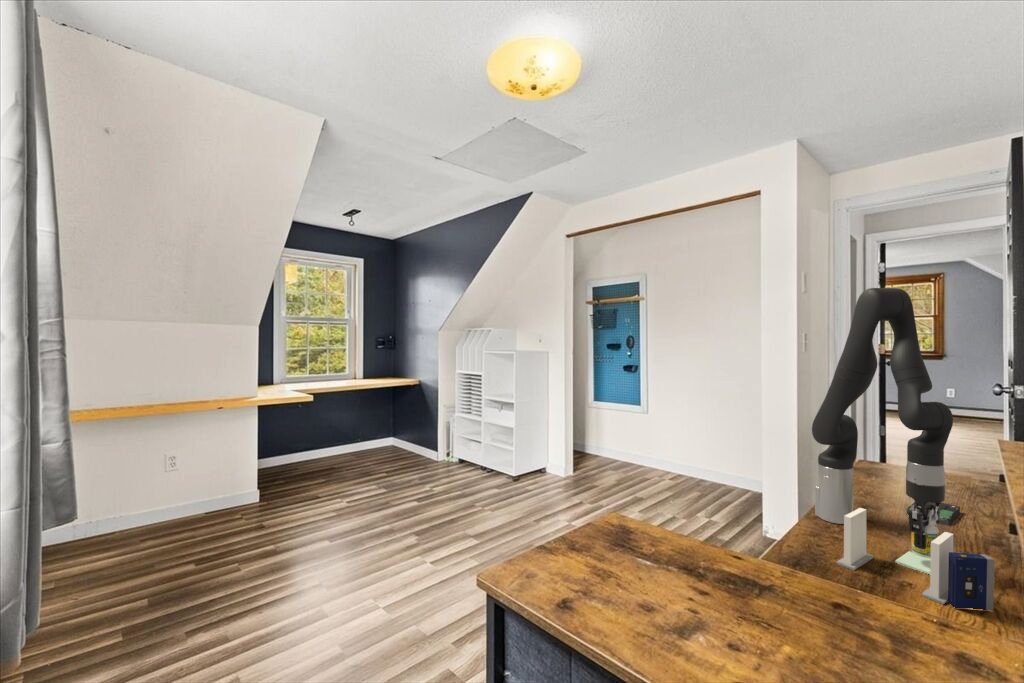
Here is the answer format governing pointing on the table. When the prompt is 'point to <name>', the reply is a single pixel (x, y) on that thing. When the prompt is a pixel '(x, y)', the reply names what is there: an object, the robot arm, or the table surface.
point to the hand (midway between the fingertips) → (924, 544)
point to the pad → (915, 562)
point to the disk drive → (945, 513)
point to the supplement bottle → (930, 536)
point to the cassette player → (971, 581)
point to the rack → (858, 556)
